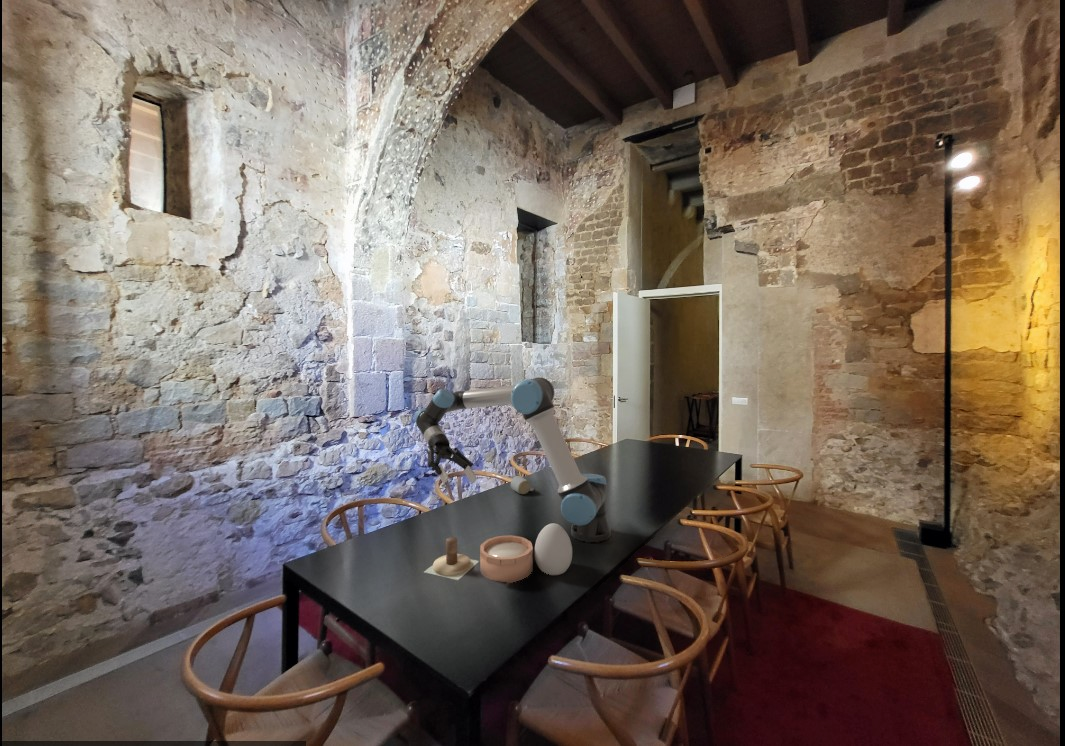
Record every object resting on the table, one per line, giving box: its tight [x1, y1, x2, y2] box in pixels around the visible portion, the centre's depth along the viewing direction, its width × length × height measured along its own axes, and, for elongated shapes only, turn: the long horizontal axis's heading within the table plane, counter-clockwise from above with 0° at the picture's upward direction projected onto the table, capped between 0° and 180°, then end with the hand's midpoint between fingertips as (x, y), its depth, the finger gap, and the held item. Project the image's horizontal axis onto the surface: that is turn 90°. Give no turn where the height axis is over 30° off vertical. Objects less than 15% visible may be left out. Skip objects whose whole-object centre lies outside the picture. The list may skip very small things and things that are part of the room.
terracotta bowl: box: [479, 534, 534, 584], centre depth 144 cm, size 17×17×8 cm
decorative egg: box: [533, 522, 573, 576], centre depth 143 cm, size 12×12×15 cm
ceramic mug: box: [510, 475, 534, 495], centre depth 219 cm, size 11×8×8 cm
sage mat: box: [423, 558, 480, 581], centre depth 145 cm, size 13×13×1 cm
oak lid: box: [432, 536, 471, 576], centre depth 145 cm, size 12×12×9 cm
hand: (460, 481), depth 159 cm, fingers open, 13 cm apart
